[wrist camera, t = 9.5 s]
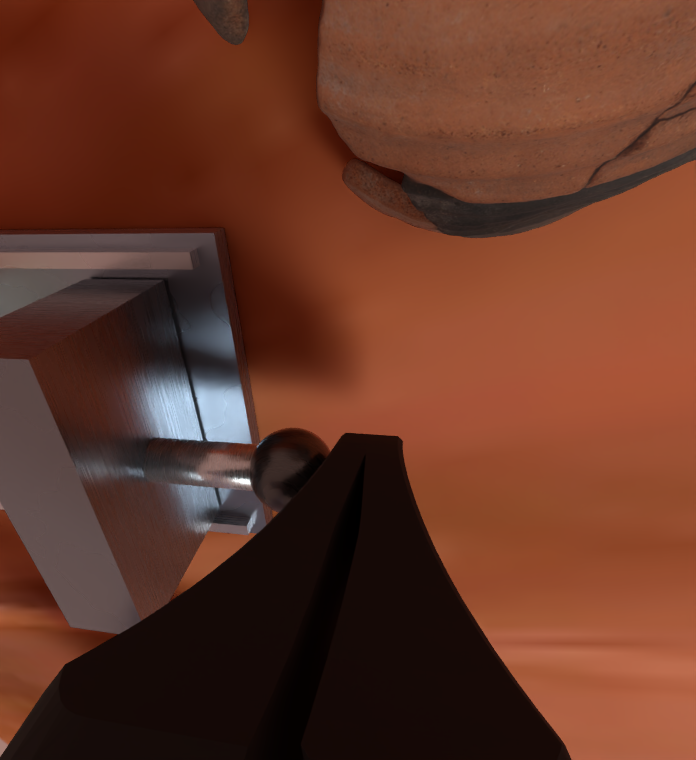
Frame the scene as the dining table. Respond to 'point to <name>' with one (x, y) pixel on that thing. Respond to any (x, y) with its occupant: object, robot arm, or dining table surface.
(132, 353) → the jaw
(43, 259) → the vise
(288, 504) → the robot arm
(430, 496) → the dining table surface
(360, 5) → the pottery mug
